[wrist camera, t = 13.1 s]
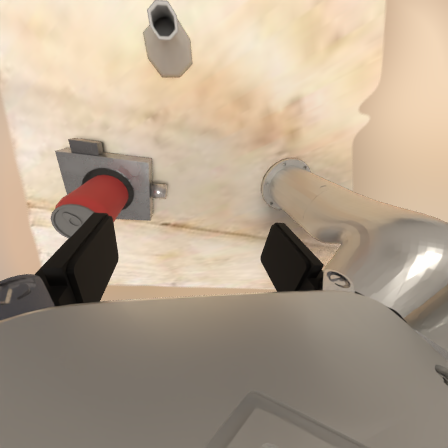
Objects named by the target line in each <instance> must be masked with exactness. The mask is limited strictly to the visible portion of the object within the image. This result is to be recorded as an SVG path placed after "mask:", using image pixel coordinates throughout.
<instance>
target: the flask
mask: <svg viewBox="0 0 448 448" xmlns="http://www.w3.org/2000/svg"><path fill="white" fill-rule="evenodd" d="M147 12H148V18H149V24H150V25H149V26H148V27H147V28H146V30H145V31H144V32H143V34H144V40H145V45H146V50H147V56H148V59H149V60H150V62H151V63H152V64H153V66H154V67H155V68H156V69H157V71H158V72H159V73H160V75H161V76H162V77H180V76H181V75H182V74H183V73H184V72H185V71H186V70H187V69H188V68H189V67H190V66H191V65H192V54H191V42H190V38H189V37H188V35H187V33H186V32H185V30H184V29H183V27H182V25H181V24H180V22H179V21H178V19H177V16H176V14H175V12H174V10H173V9H172V7H171V5H170V4H169V2H168V1H164V0H155V1H154V2H153V3H152V5H151V6H150V7H149V8H148V9H147Z"/></svg>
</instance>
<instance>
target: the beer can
mask: <svg viewBox="0 0 448 448" xmlns="http://www.w3.org/2000/svg"><path fill="white" fill-rule="evenodd" d="M127 200H128V191H127V188H126V187H125V185H124V184H123V183H122V182H121V181H120V180H118V179H117V178H115V177H112V176H109V175H98V176H96V177H93V178H92V179H90V180H89V181H87V182H86V183H84V184H83V185H81V186H80V187H78V188H77V189H75V190H74V191H72V192H71V193H69V194H68V195H66V196H65V197H63V198H62V199H61V200H60V201H59V203H58V204H57V205H56V208H55V210H54V211H53V212H52V216H51V221H52V225H53V226H54V228H55V229H56V231H58V232H59V233H60V234H61V235H63V236H65V237H67V238H70V237H71V236H72V235H73V234H74V233H75V232H76V231H77V230H78V229H79V228H80V227H81V226H82V225H83V223H84V222H85V221H86V220H87V219H88V218H89V217H90V216H91V215H92V214H93V213H94V212H96V213H107V214H108V215H109V216H112V218H113V222H114V221H115V219H116V218H117V216H118V215H119V213H120V212H121V210H122V209H123V207H124V206H125V204H126V203H127Z"/></svg>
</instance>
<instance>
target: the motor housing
mask: <svg viewBox="0 0 448 448" xmlns="http://www.w3.org/2000/svg"><path fill="white" fill-rule="evenodd" d="M68 140H69V144H70V148H69V147H68V148H65V149H61V150H57V151H55V152H56V156H57V160H58V163H59V167H60V171H61V174H62V178H63V181H64V185H65V189H66V192H67V195H68V194H69V193H71V192H72V191H74V190H75V189H77V188H78V187H80V186H81V185H83V184H84V183H86V182H87V181H89V180H90V179H92V178H93V177H96V176H98V175H109V176H112V177H115V178H117V179H118V180H120V181H121V182H122V183H123V184H124V185H125V187H126V188H127V191H128V200H127V203H126V204H125V206H124V207H123V209H122V210H121V212H120V213H119V215H118V216H117V218H116V219H130V220H150V221H151V217H152V214H153V198H159V199H166V197H167V185H165V184H155V183H152V158H145V157H137V156H129V155H122V154H114V153H107V152H103V148H102V142H99V141H92V140H85V139H78V138H72V139H68Z"/></svg>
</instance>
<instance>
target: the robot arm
mask: <svg viewBox="0 0 448 448" xmlns="http://www.w3.org/2000/svg"><path fill="white" fill-rule="evenodd" d="M262 196H263V198H264V200H265V201H266V203H267V204H268V205H269V206H271V207H273V208H275V209H283V210H284V211H285V212H286V213H287V214H288V215H289V216H290V217H291V218H292V219H294V220H295V221H296V222H297V223H298V224H299V225H300V226H301V227H302V228H303V229H304V230H305V231H306V232H307V233H309V234H310V235H311V236H312V237H313V238H315V239H317V240H318V241H321V242H324V243H331V244H341V246H340V247H339V249H338V250H337V251H336V253H335V255H334V256H333V258H332V259H331V260H330V261H329V263H328V264H327V265H326V267H325V268H324V269H323V270H321V269H322V268H323V266H324V265H323V264H322V263H321V262H320V260H319V259H318V258H317V257H316V256H315V255H314V254H313V253H312V252H311V251H310V250H309V249H308V248H307V247H306V246H305V245H304V244H303V242H302V241H301V240H300V239H299V238H298V237H297V236H296V235H295V234H294V233H293V232H292V231H291V230H290V229H289V228H288V227H287V226H286V224H284V223H275V224H274V225H272V226H271V229H270V232H269V234H268V237H267V240H266V243H265V246H264V249H263V252H262V255H261V262H262V264H263V266H264V268H265V270H266V272H267V273H268V275H269V277H270V279H271V281H272V283H273V285H274V287H275V288H276V290H277V292H264V293H243V294H224V295H223V294H222V295H203V296H185V297H167V298H149V299H132V300H116V301H103V302H100V300H101V298H102V295H103V293H104V291H105V289H106V287H107V284H108V282H109V280H110V278H111V276H112V273H113V271H114V269H115V267H116V265H117V262H118V250H117V243H116V236H115V230H114V223H113V218H112V216H109V215H108V214H107V213H96V212H94V213H93V214H92V215H91V216H90V217H89V218H88V219H87V220H86V221H85V222H84V223H83V225H82V226H81V227H80V228H79V229H78V230H77V231H76V232H75V233H74V234H73V235H72V236H71V237H70V238H69V239H68V240H67V241H66V242H65V243H64V244H63V245H62V246H61V247H60V248H59V249H58V250H57V251H56V252H55V253H54V255H53V256H52V257H51V258H50V259H49V260H48V261H47V262H46V263H45V264H44V265H43V266H42V267H41V268H40V269H39V271H38V272H37V273H36V274H35V275H32V274H26V275H18V276H14V277H10V278H7V279H5V280H2V281H0V448H448V223H447V222H444V221H442V220H440V219H438V218H435V217H432V216H429V215H426V214H423V213H419V212H415V211H411V210H408V209H404V208H400V207H396V206H393V205H389V204H386V203H383V202H379V201H376V200H373V199H371V198H368V197H365V196H363V195H360V194H358V193H355V192H353V191H351V190H349V189H346V188H344V187H342V186H340V185H337V184H335V183H333V182H330V181H328V180H326V179H324V178H321V177H319V176H317V175H315V174H312V173H311V171H310V169H309V167H308V165H307V164H306V163H305V162H303V161H301V160H299V159H294V158H288V159H284V160H282V161H279V162H278V163H276V164H275V165H273V166H272V167H271V168H270V169H269V171H268V172H267V173H266V175H265V177H264V179H263V182H262Z"/></svg>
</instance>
